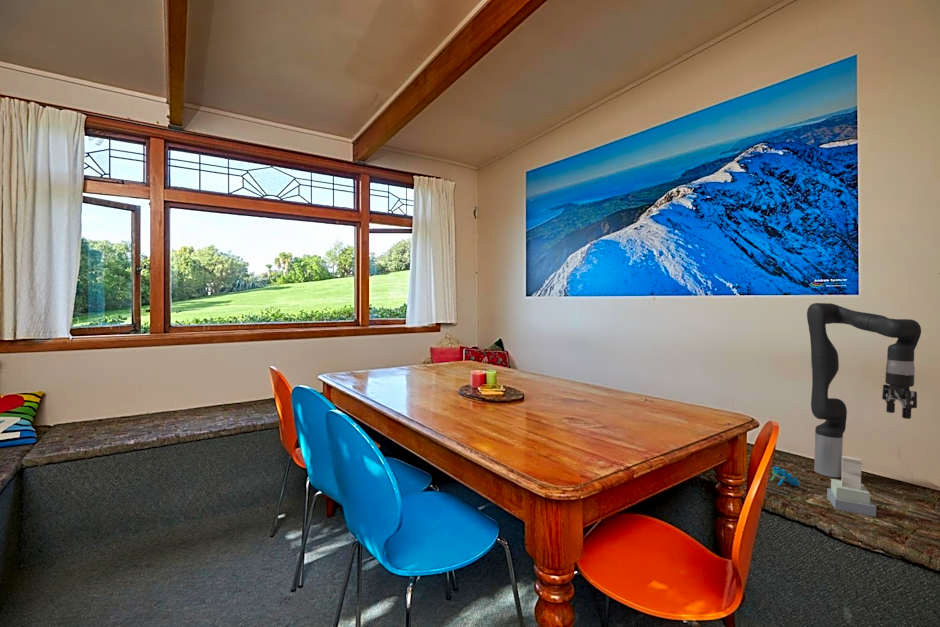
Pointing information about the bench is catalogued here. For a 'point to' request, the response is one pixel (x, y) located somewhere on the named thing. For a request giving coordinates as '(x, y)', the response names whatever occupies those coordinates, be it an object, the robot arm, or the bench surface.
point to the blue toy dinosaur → (783, 476)
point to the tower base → (851, 505)
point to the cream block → (851, 472)
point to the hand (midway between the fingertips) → (898, 415)
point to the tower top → (850, 492)
